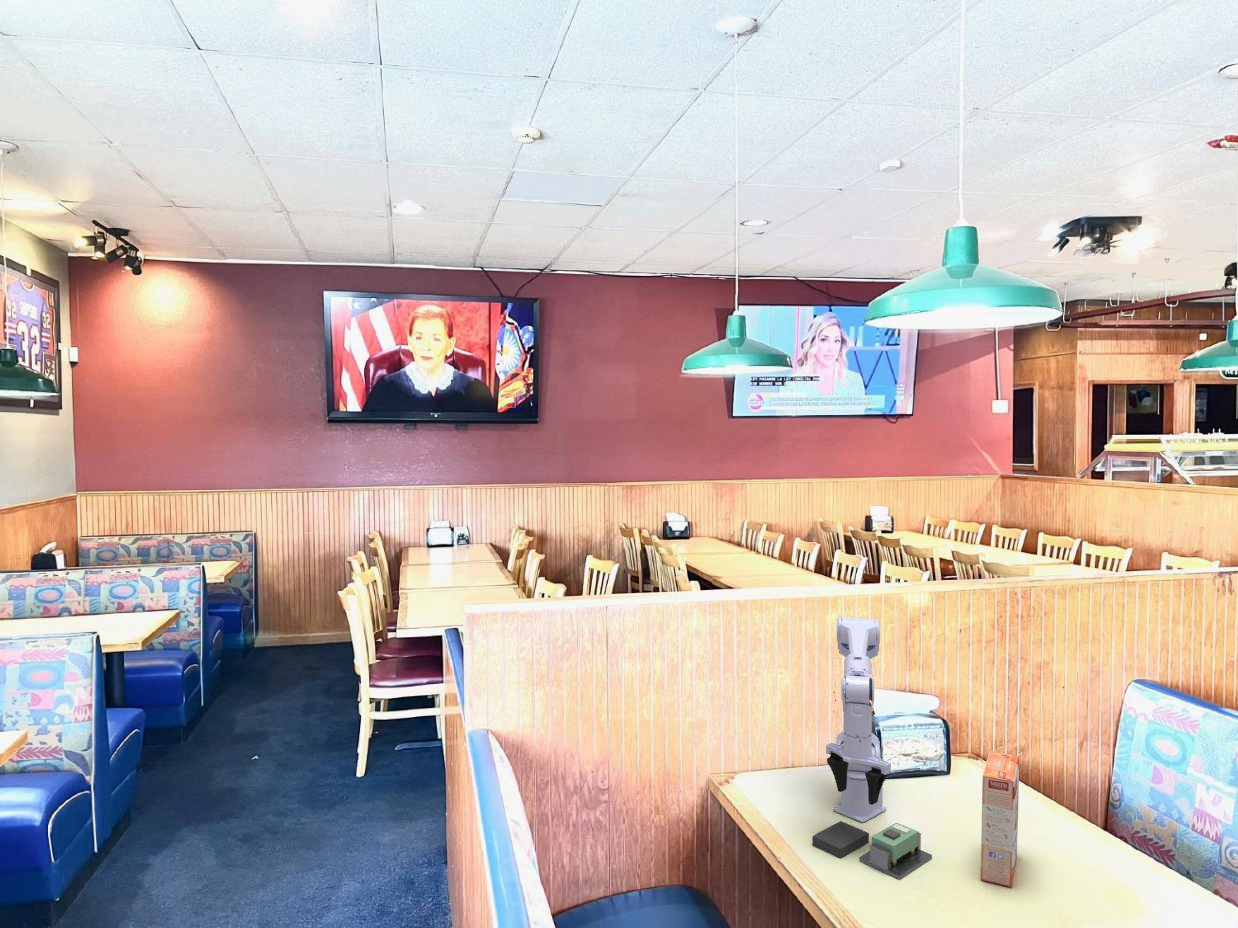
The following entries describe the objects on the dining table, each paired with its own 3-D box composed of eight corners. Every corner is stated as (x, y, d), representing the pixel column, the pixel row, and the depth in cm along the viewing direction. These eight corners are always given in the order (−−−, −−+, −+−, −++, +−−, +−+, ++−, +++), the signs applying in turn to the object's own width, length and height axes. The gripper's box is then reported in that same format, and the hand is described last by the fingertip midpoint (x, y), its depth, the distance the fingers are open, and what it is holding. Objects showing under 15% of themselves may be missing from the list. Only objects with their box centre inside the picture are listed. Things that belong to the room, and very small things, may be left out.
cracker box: (1014, 889, 152) (1015, 780, 152) (979, 880, 155) (980, 774, 155) (1019, 855, 165) (1020, 754, 164) (987, 848, 168) (987, 748, 167)
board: (896, 836, 168) (896, 819, 168) (918, 845, 164) (918, 828, 164) (871, 851, 162) (871, 833, 162) (893, 861, 158) (893, 843, 158)
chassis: (892, 841, 171) (892, 821, 170) (932, 858, 164) (932, 837, 164) (859, 860, 163) (859, 840, 163) (899, 879, 156) (899, 858, 156)
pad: (840, 829, 176) (840, 820, 176) (868, 842, 170) (868, 832, 170) (812, 845, 169) (812, 835, 169) (840, 858, 164) (840, 848, 164)
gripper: (817, 727, 172) (817, 790, 173) (877, 747, 161) (877, 814, 162) (837, 720, 177) (837, 781, 177) (896, 739, 166) (896, 804, 166)
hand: (857, 796), depth 170 cm, fingers open, 7 cm apart
